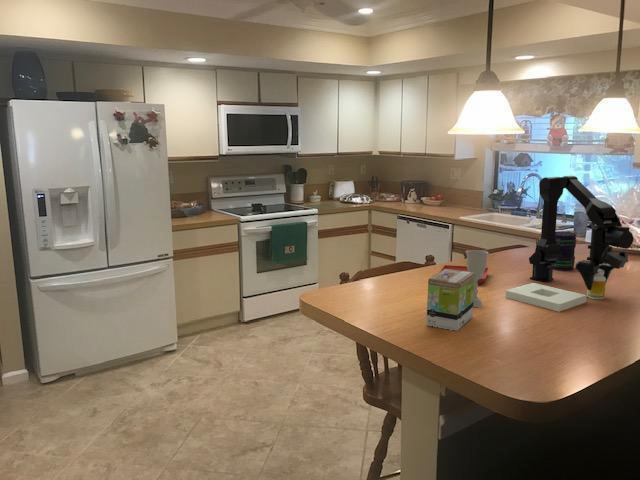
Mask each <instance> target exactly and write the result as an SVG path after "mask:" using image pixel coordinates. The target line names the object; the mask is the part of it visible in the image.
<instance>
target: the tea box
mask: <svg viewBox="0 0 640 480" xmlns="http://www.w3.org/2000/svg"><path fill="white" fill-rule="evenodd" d="M427 283H428V284H427V298H426V299H427V301H426V302H427V303H426V321H425V325H426V326H429V327H432V326H433V327H432V328H437V327H438V329H442V328H443V330H447V329H449V331H453V330H455V331H454V332H458V331H459V329H461V328H462V327H463V326H465V324H466V323H468V321H470V320H471V319H472V318H473V315H474V307H473V301H474V283H475V273H473V272H466V271H458V270H451V269H444V270H443V271H441V272H439V271H438V272H437V273H436V274H434V275H432V276H431V277H429V278H428V281H427Z"/></svg>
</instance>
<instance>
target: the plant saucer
mask: <svg viewBox="0 0 640 480" xmlns="http://www.w3.org/2000/svg"><path fill="white" fill-rule="evenodd" d="M489 268H490V267H487V266H486V269H485V271H484V273H483V275H482V277H481V279H479V280H478V281H477V284H478V285H481V284H482V283H483V282H484V281H485V280H486V277H487V275H488V272H489ZM444 269H451V270H458V271H466V272H468V269H467V265H451V264H444V265H442V267H441V269H440V270H439V271H438V273H439V272H441V271H443V270H444Z"/></svg>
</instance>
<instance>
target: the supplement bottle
mask: <svg viewBox="0 0 640 480" xmlns="http://www.w3.org/2000/svg"><path fill="white" fill-rule="evenodd" d="M597 272H599V273H597V274H596V275H595V276H594V280H593V285H592V289H591V290H588V289H587V288H586V289H587V291H586V295H587V296H586V298H587V297H588V298H589V299H593V300H603V299H605V295H606V294H605V293H606V283H607V282H606V278H605V277H604V276H603V275H604V270H601V269H598V271H597Z"/></svg>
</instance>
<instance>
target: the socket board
mask: <svg viewBox="0 0 640 480" xmlns="http://www.w3.org/2000/svg"><path fill="white" fill-rule="evenodd" d="M504 297H505V298H506V299H510V300H514V301H517V302H522V303H525V304H529V305H532V306H537V307H538V308H539V307H541V308H543V309H548V310H552V311H555V312H557V313H558V312H559V313H560V312H563V311H566V310H568V309H570V308H571V309H572V308H573V307H577V306H579V305H583V304H586V302H587V294H583V293H579V292H574V291H570V290H566V289H562V288H557V287H552V286H549V285H543V284H540V283H535V282H531V283H527V284H524V285H523V284H522V285H519V286H517V287H513V288H509V289H506V290H505V296H504Z"/></svg>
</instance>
